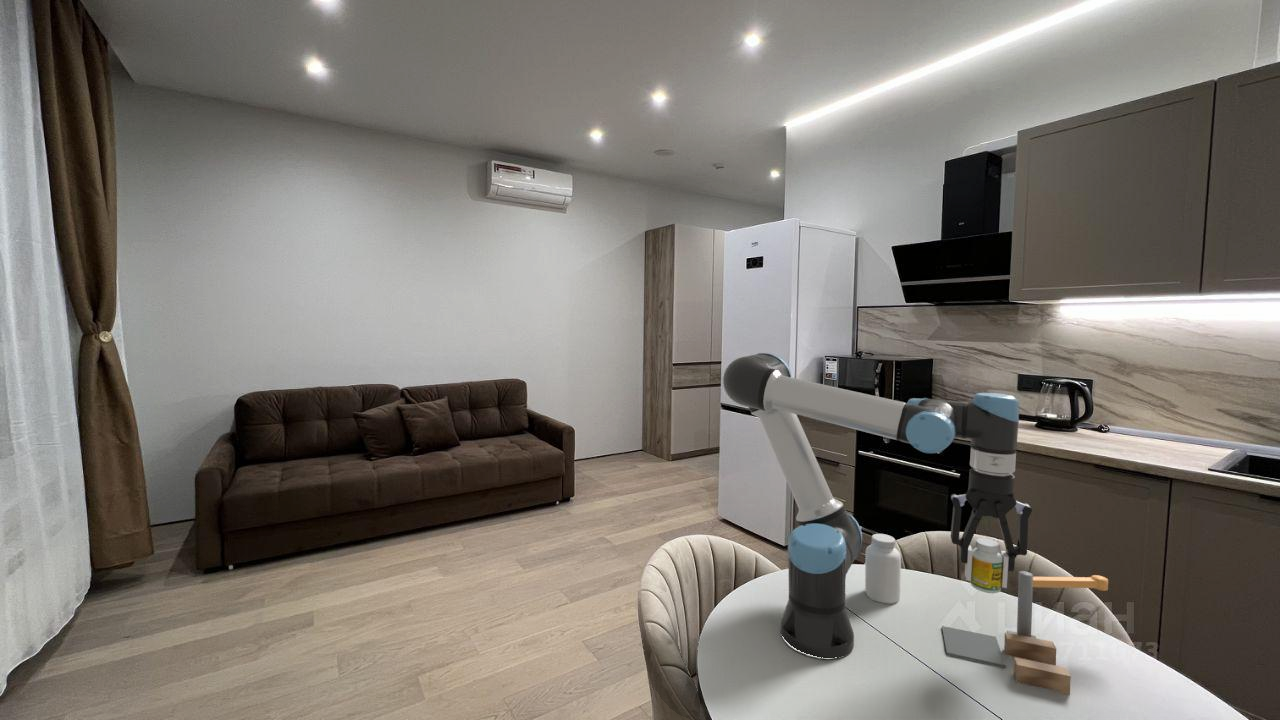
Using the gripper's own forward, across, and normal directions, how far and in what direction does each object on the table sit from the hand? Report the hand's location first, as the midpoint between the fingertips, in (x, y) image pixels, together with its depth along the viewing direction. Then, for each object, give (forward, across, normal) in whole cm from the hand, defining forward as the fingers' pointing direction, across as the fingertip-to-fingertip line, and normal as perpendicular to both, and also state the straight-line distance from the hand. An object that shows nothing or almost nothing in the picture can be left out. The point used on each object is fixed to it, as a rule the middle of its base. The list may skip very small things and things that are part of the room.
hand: (985, 581), depth 105 cm
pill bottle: (+16, -19, +15) cm, 29 cm away
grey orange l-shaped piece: (+14, +15, +9) cm, 22 cm away
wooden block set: (+15, +8, 0) cm, 17 cm away
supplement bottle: (+1, 0, 0) cm, 1 cm away
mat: (+15, -2, +1) cm, 15 cm away
